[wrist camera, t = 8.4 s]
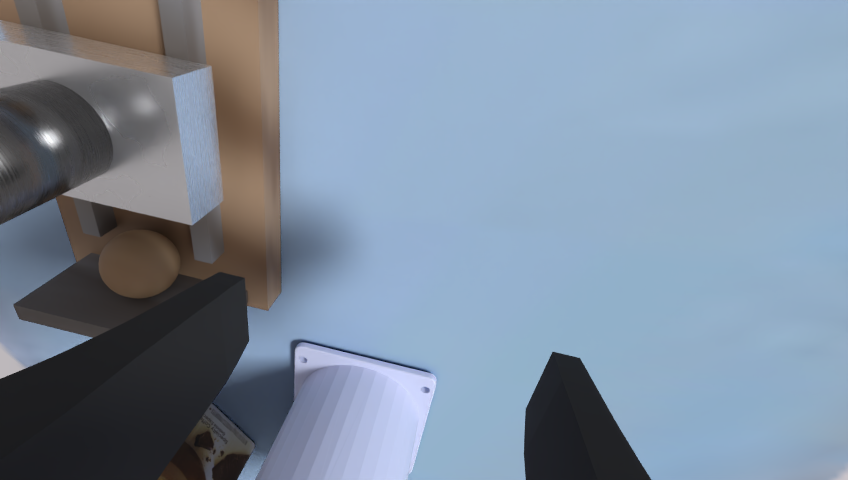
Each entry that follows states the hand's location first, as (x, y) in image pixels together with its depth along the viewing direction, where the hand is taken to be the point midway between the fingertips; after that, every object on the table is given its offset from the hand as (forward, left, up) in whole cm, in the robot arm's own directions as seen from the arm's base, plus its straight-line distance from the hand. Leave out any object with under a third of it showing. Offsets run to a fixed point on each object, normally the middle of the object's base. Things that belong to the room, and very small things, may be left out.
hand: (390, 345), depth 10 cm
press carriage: (+1, +12, -7) cm, 14 cm away
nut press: (+2, +12, -9) cm, 15 cm away
